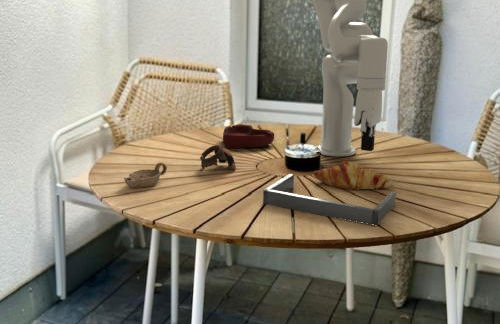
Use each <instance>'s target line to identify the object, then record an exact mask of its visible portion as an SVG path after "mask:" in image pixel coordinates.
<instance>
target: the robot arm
mask: <svg viewBox="0 0 500 324" xmlns="http://www.w3.org/2000/svg"><path fill="white" fill-rule="evenodd" d="M311 1H312V4H313V6H314V9H315V11H316V14H317V16H318V22H319V24H318V25H319V28H320V29H319V30H320V36H321V40H322V46H323V48H324V49H325V51H326V52H328V53H329V54H327V55H326V56H325V57H324V58H323V59H322V61H321V74H322V84H323V85H322V87H323V88H322V89H323V97H322V120H321V122H322V123H321V137H320V139H321V141H320V142H321V143H320V144H318V145H317V146H316V147H318V148H319V149H320V151H321V154H320V155H324V156H327V157H348V156H352V155H354V154H356V148H355V147H354V146H352V139H353V136H352V133H353V132H352V131H353V124H354V126H355V127H358V126H360V129H359V131H360V132H361V139H360V141H361V143H360V150H361V151H364V152H365V151H366V152H372V151H374V150H375V135H376V129H377V128H376V127H377V124H378V125H379V123H381V120H382V113H383V112H382V111H383V110H382V109H383V91H385V90H386V77H387V62H388V50H389V49H388V48H389V46H388V45H389V44H388V40H387V39H386V38H385V37H381V36H380V37H379V36H377V35H374V34H373V30H372V28H371V26H370V25H368V24H367V23H365V22H358V20H359V19H361V18H362V17H364V15H365V14H366V12H367V8H368V7H367V1H366V0H311ZM356 21H357V22H356ZM351 84H356V90H358V91H357V95H356V101H355V98H354V96H353V93H352V92H351V90H350V89H349V87H348V86H347V85H351ZM354 101H355V102H354ZM354 104H355V110H354ZM353 117H354V120H353Z"/></svg>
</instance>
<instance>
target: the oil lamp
mask: <svg viewBox="0 0 500 324" xmlns="http://www.w3.org/2000/svg"><path fill="white" fill-rule="evenodd" d="M161 166H162V171H160V167H161ZM167 170H168V167H167V165H166V163H164V162H162V161H161V162H158V163H157V164H155V166H154V169H139V170H136V171H134V172H132V173H129V174H128V177H124V178H123V180H124V182H125V184H126V185H127V186H128V187H129V188H134V189H139V188H141V189H142V188H149V187H152V186H154V185H156V184H157V183H158V182H159V180H160V177H161V176H164V175H165V174H166V173H167Z"/></svg>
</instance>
